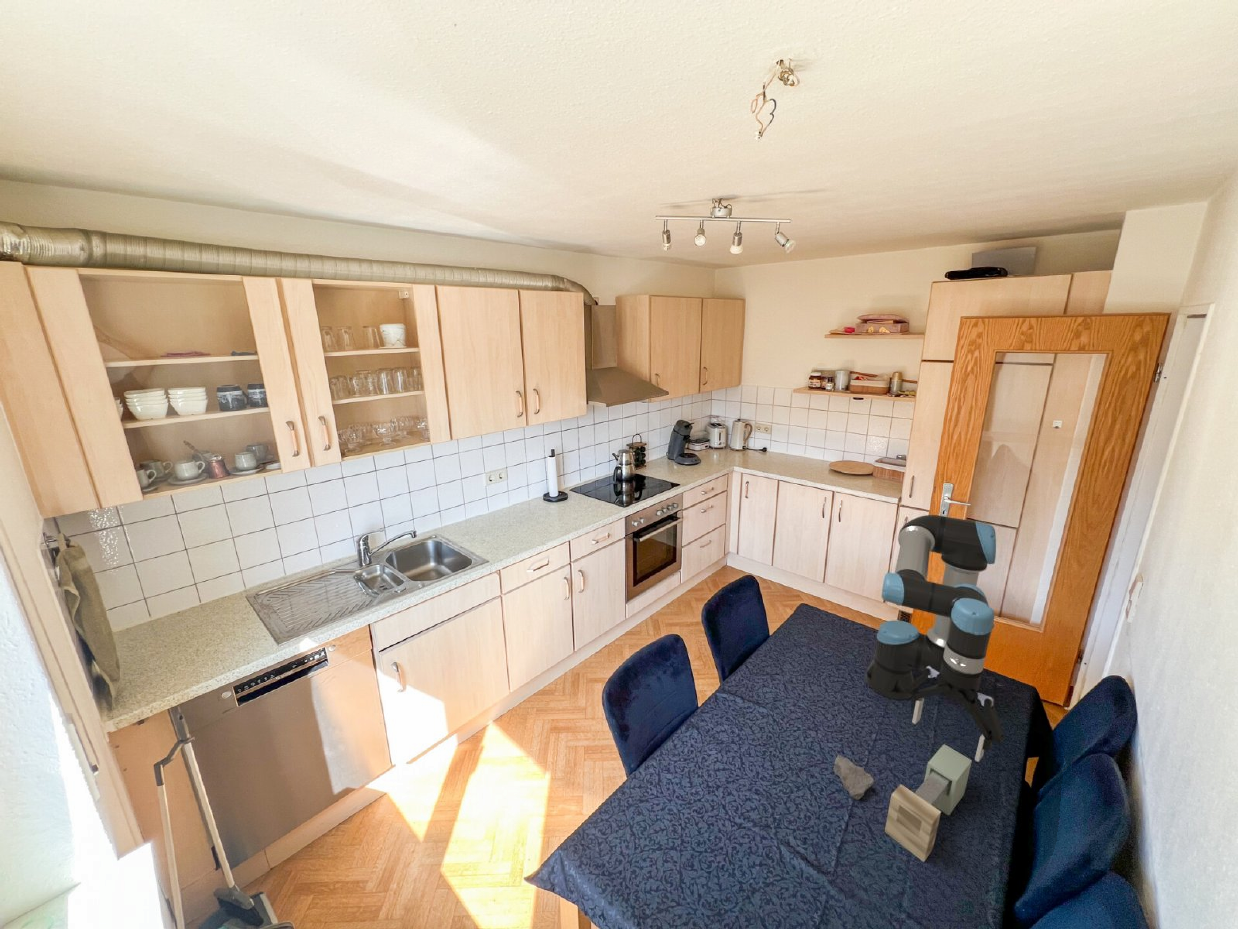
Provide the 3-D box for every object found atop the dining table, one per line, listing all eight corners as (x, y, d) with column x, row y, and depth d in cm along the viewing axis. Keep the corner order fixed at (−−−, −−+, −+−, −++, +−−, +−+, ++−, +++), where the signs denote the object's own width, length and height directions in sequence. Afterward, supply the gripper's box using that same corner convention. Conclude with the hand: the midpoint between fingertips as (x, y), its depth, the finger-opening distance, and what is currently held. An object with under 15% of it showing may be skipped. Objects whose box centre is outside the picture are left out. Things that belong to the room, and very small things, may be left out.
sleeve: (936, 777, 136) (943, 744, 133) (964, 794, 130) (971, 760, 127) (920, 796, 130) (927, 762, 127) (948, 816, 125) (956, 781, 122)
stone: (857, 806, 127) (859, 788, 126) (824, 778, 136) (826, 761, 134) (875, 791, 131) (878, 773, 130) (842, 765, 140) (844, 748, 138)
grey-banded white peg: (934, 777, 129) (936, 765, 128) (950, 788, 126) (953, 776, 125) (902, 816, 118) (904, 804, 117) (919, 829, 115) (922, 816, 114)
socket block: (893, 820, 124) (900, 784, 120) (932, 849, 117) (941, 811, 113) (884, 831, 121) (891, 794, 118) (923, 862, 114) (932, 823, 111)
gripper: (897, 643, 119) (885, 713, 125) (1023, 705, 100) (1002, 785, 106) (912, 631, 123) (900, 700, 129) (1035, 689, 104) (1014, 766, 110)
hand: (946, 738), depth 117 cm, fingers open, 13 cm apart
